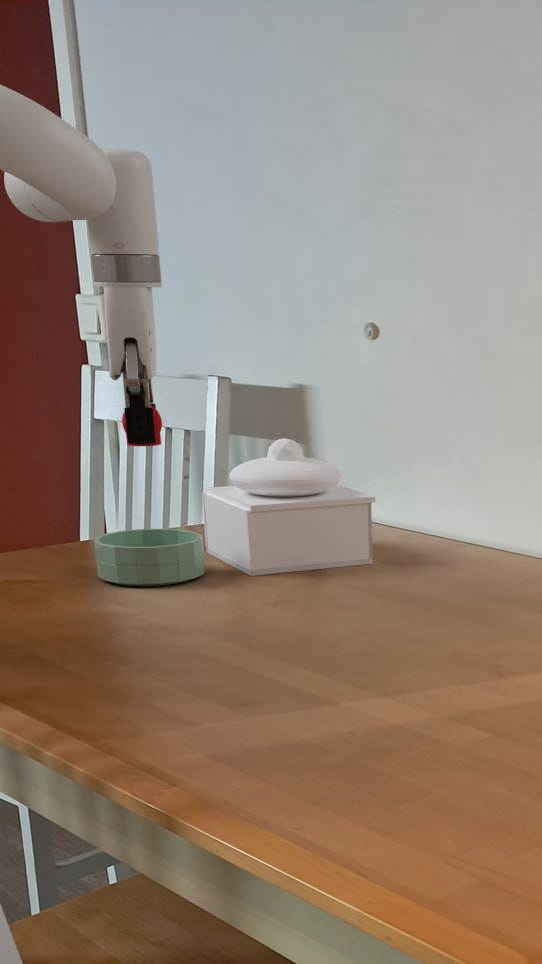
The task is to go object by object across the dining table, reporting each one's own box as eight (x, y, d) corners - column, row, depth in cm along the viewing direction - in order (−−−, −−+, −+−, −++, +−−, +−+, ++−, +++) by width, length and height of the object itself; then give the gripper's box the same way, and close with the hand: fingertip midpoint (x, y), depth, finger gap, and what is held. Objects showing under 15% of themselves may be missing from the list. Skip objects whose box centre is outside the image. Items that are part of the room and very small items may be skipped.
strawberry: (122, 446, 150) (118, 402, 148) (125, 442, 154) (121, 398, 152) (162, 446, 151) (158, 401, 149) (164, 441, 155) (160, 398, 153)
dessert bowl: (94, 589, 156) (89, 548, 154) (103, 568, 168) (99, 529, 166) (204, 586, 158) (200, 546, 156) (205, 565, 170) (202, 527, 168)
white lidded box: (206, 552, 178) (197, 433, 172) (325, 542, 186) (320, 428, 180) (250, 576, 164) (242, 447, 158) (376, 563, 172) (374, 441, 166)
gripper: (100, 273, 152) (117, 433, 159) (85, 272, 137) (104, 450, 144) (164, 274, 153) (178, 433, 160) (156, 273, 138) (172, 449, 145)
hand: (143, 439), depth 152 cm, fingers closed on strawberry, 4 cm apart
